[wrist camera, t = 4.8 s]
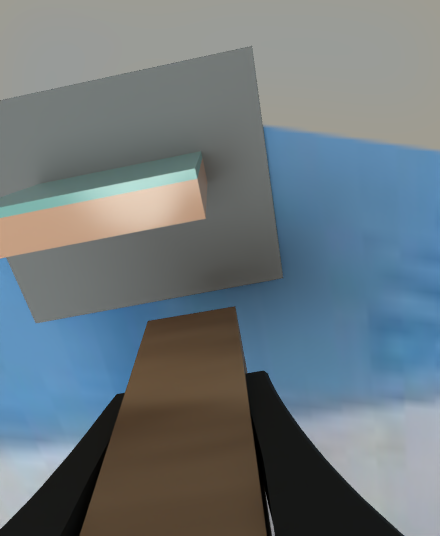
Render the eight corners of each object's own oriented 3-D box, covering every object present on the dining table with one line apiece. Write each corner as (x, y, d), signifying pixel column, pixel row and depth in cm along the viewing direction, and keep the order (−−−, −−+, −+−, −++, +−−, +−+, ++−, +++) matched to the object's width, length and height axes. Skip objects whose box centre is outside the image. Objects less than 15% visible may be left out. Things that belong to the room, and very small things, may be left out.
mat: (281, 273, 20) (283, 277, 19) (40, 317, 20) (35, 323, 20) (250, 48, 16) (251, 46, 15) (-50, 113, 16) (-59, 113, 16)
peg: (248, 377, 14) (305, 758, 6) (168, 390, 14) (105, 781, 6) (235, 306, 13) (282, 654, 4) (148, 321, 13) (31, 686, 4)
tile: (207, 182, 17) (205, 218, 11) (49, 214, 18) (-45, 267, 11) (201, 151, 17) (195, 168, 10) (38, 184, 17) (-69, 221, 11)
